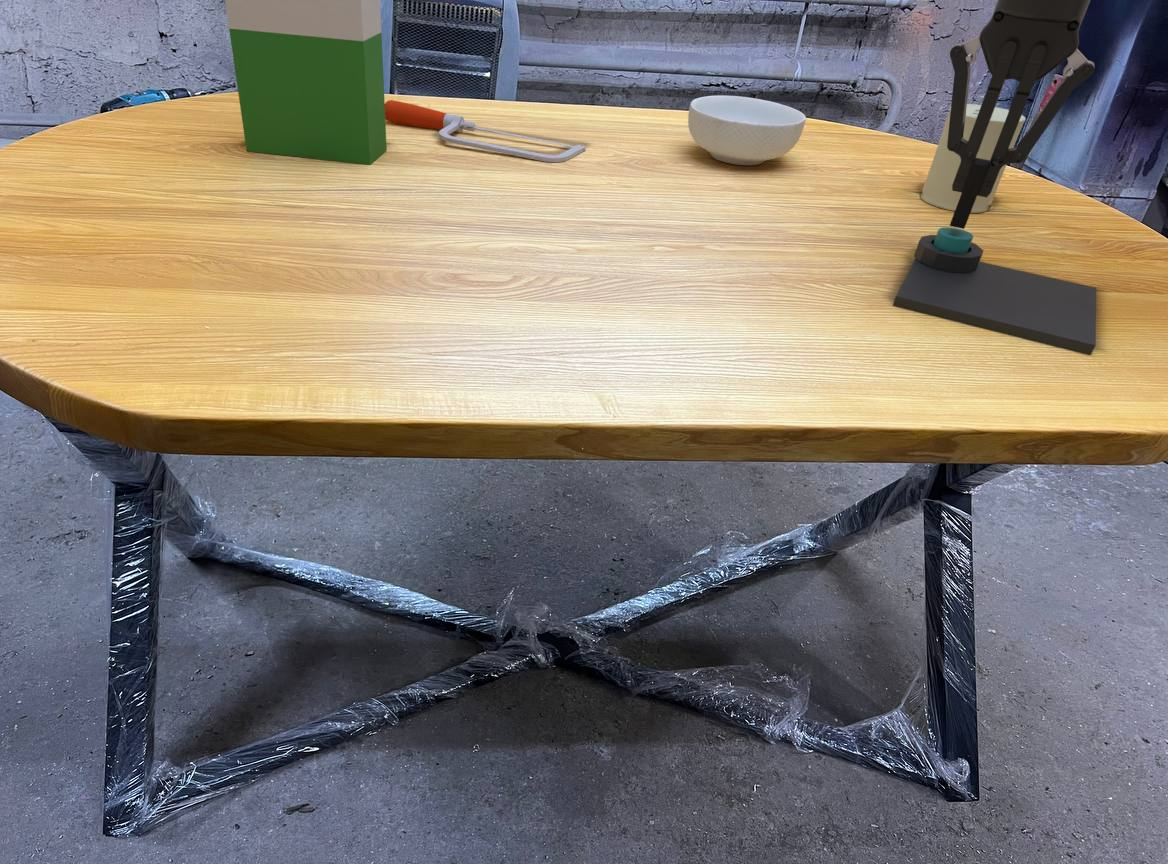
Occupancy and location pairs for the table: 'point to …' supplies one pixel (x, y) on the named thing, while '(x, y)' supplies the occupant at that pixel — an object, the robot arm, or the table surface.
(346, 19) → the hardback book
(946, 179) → the can
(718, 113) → the cereal bowl
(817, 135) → the table surface
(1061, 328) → the scale
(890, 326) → the table surface
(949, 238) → the tare button
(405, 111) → the hand saw
